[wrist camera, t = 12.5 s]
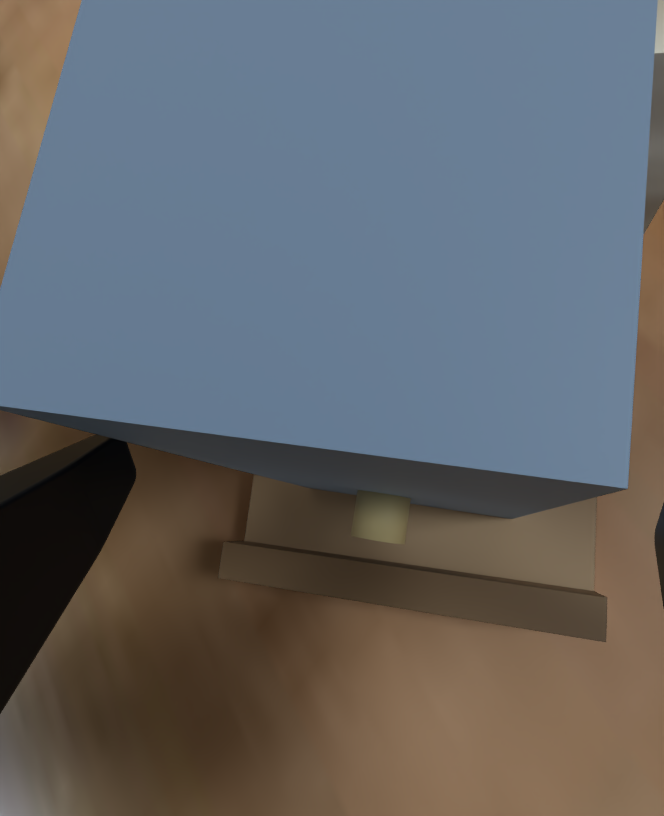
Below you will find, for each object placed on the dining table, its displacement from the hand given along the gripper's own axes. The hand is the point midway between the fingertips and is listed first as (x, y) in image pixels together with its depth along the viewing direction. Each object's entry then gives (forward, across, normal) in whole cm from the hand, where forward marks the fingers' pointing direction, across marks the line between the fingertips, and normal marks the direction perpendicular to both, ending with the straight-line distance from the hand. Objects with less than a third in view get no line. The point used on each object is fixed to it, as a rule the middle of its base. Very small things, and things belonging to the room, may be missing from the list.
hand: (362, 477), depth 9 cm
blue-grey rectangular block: (+7, 0, +3) cm, 8 cm away
